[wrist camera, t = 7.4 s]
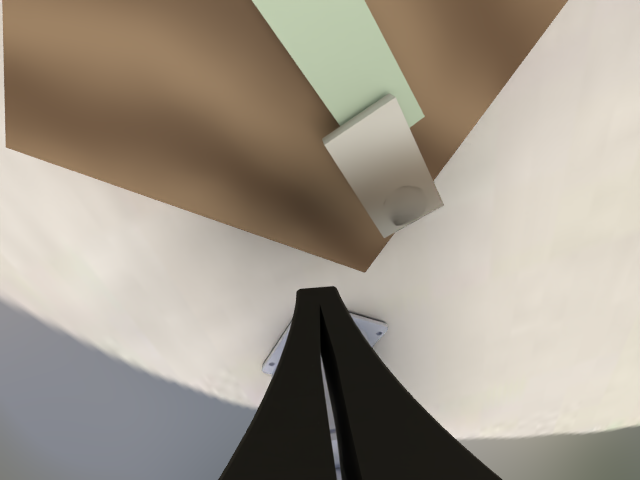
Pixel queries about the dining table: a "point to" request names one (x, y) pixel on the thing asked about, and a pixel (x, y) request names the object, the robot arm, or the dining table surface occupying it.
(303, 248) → the board
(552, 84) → the dining table surface
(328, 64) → the link
